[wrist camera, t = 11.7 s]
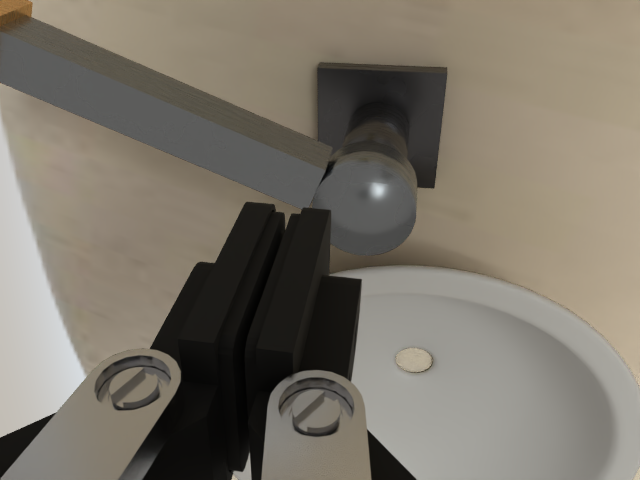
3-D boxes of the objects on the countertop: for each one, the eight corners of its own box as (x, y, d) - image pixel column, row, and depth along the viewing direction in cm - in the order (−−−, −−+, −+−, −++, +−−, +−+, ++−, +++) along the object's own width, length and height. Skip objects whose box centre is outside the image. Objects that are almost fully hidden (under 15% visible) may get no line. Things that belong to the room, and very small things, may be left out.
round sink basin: (344, 498, 49) (334, 581, 43) (161, 283, 39) (117, 357, 33) (664, 431, 39) (701, 528, 34) (530, 123, 29) (552, 190, 24)
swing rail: (434, 162, 24) (434, 196, 22) (391, 235, 26) (388, 274, 24) (3, -27, 23) (-45, -11, 20) (-3, 69, 25) (-47, 93, 23)
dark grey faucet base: (320, 62, 29) (296, 109, 24) (447, 67, 28) (449, 117, 23) (321, 173, 32) (300, 234, 27) (434, 180, 31) (434, 245, 27)
